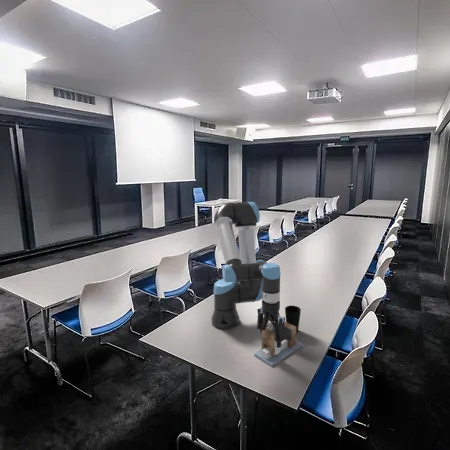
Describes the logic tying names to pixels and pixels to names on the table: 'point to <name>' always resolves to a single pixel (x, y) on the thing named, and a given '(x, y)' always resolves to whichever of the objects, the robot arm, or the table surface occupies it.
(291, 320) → the cup
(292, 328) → the fixed jaw
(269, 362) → the rail
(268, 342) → the two-tone tabbed box
